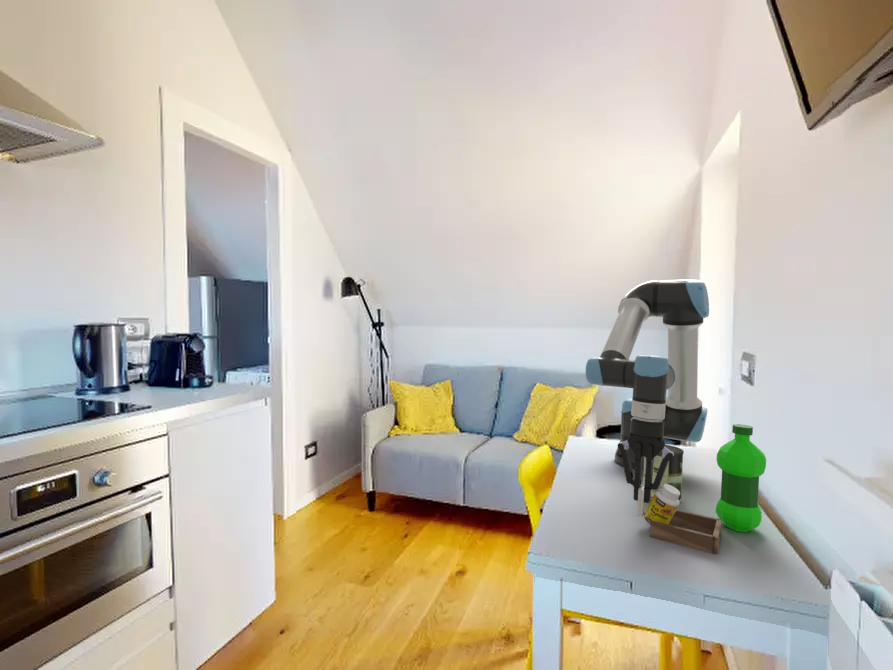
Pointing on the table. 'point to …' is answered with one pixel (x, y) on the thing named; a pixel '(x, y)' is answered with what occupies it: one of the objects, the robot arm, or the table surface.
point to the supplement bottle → (662, 505)
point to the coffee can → (668, 470)
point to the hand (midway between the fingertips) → (640, 514)
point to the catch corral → (690, 531)
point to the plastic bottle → (740, 481)
